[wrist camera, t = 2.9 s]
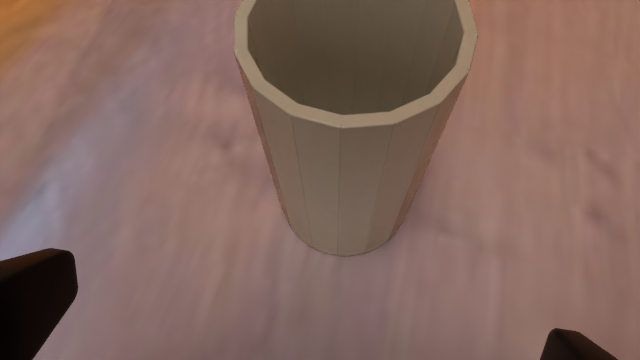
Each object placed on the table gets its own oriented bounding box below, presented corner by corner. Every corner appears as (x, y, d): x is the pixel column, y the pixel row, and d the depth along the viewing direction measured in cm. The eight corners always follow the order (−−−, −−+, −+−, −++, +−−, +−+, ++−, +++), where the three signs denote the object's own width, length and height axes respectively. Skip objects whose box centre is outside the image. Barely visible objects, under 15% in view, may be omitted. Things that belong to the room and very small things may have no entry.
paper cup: (431, 188, 23) (523, 10, 12) (353, 283, 21) (375, 177, 10) (336, 120, 25) (338, -87, 14) (256, 202, 23) (183, 36, 12)
